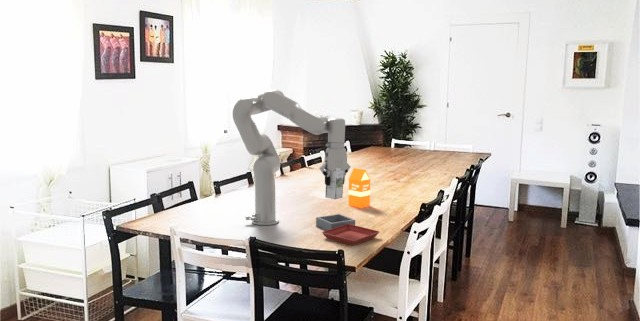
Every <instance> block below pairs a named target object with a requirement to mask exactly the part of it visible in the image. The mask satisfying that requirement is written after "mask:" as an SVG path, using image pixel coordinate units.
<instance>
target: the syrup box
mask: <svg viewBox="0 0 640 321" xmlns="http://www.w3.org/2000/svg"><path fill="white" fill-rule="evenodd" d="M329 177H330V185H329V186H328V185H325V198H326V199H327V198H328V199H331V200H338V199H341V198H343V193H344V192H343V191H344V190H343V189H344V184H343V178H344V171H341V170H340V168H335V171H331V173H330V175H329Z"/></svg>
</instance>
